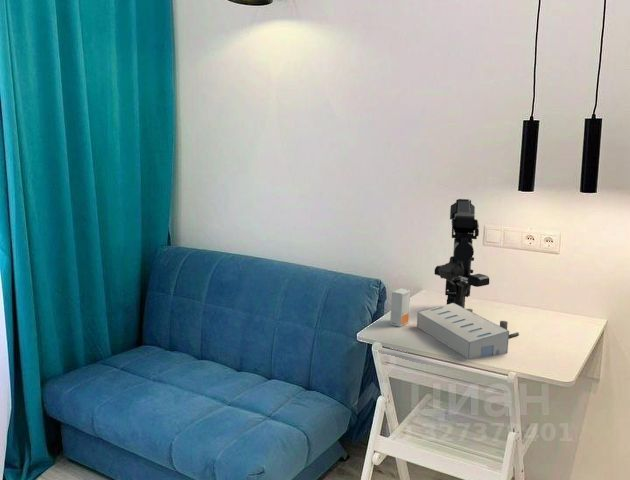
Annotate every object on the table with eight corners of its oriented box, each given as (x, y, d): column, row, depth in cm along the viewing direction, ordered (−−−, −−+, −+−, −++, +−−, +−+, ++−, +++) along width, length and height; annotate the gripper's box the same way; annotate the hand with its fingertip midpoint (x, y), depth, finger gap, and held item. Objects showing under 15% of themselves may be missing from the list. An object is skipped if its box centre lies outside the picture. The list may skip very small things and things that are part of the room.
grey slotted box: (416, 327, 208) (418, 306, 206) (452, 323, 213) (453, 302, 211) (468, 360, 180) (469, 336, 179) (507, 354, 185) (509, 330, 184)
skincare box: (400, 327, 207) (402, 294, 204) (389, 324, 209) (391, 291, 207) (409, 322, 211) (410, 290, 209) (398, 320, 214) (400, 288, 211)
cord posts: (463, 315, 220) (464, 302, 219) (519, 335, 200) (520, 321, 199) (449, 318, 216) (450, 305, 215) (504, 339, 196) (506, 325, 195)
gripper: (423, 251, 195) (421, 297, 198) (467, 262, 180) (464, 312, 183) (447, 247, 202) (445, 292, 205) (492, 258, 186) (488, 306, 189)
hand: (459, 300), depth 195 cm, fingers closed
